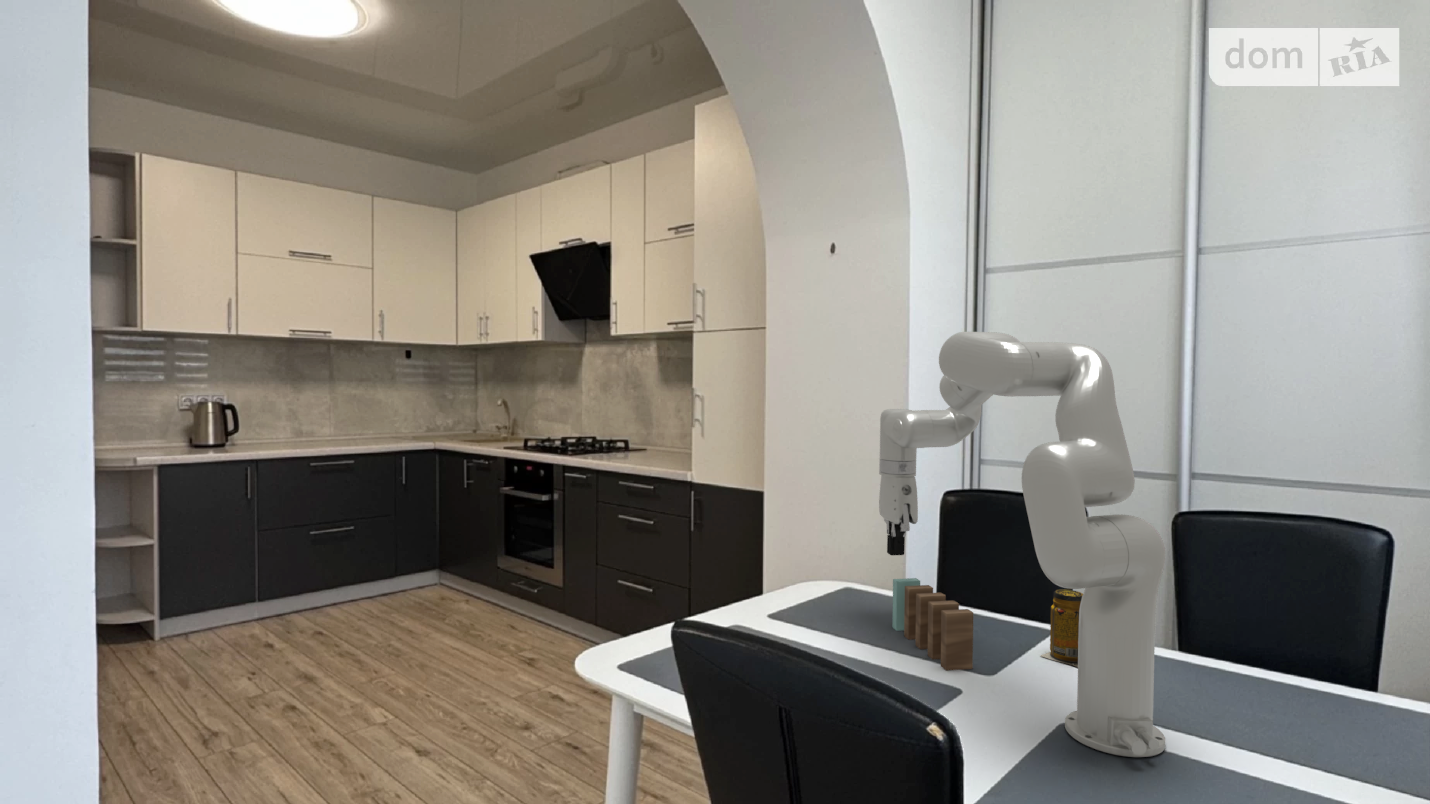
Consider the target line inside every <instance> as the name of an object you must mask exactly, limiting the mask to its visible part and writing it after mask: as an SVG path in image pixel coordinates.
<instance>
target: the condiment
mask: <svg viewBox="0 0 1430 804" xmlns="http://www.w3.org/2000/svg"><path fill="white" fill-rule="evenodd" d="M1083 593H1084V592H1083ZM1083 593H1082V592H1080V591H1078V590H1074V589H1065V588H1064V589H1063V588H1062V589H1056V590H1054V591H1053V599H1052V601H1053V604H1052V605H1051V606H1050V626H1049V628H1050V630H1049V632H1050V633H1049V636H1050V639H1049V642H1050V644H1049V650H1050V651H1049V652H1047V653H1046V652H1045V653H1043V654H1041V655H1040V657H1042V658H1046V659H1048V660H1053V661H1054V662H1059V663H1063V664H1067V665H1070V666H1074V667H1076V668H1078V638H1079V610H1080V603H1081V600H1082V596H1083Z"/></svg>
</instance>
